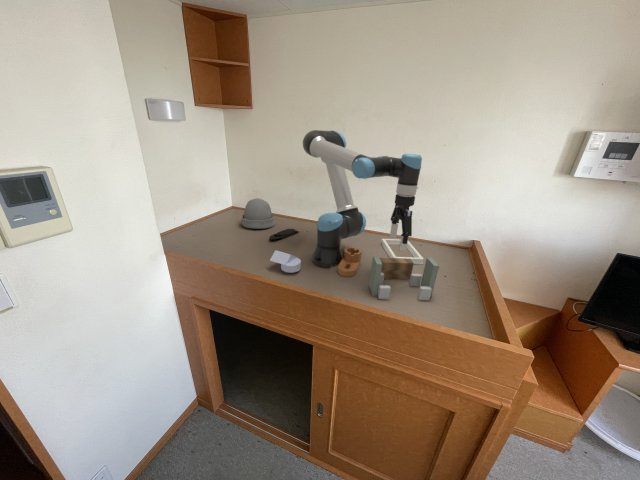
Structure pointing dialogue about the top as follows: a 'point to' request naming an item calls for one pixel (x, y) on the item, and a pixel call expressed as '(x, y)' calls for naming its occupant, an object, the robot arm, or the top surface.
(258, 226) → the beanie hat
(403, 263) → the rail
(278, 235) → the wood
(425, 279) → the green fixture with posts
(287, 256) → the wedge on round base
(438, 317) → the top surface
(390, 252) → the frame
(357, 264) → the bracket
